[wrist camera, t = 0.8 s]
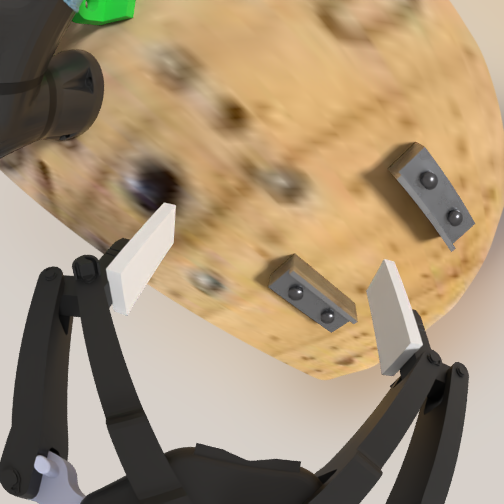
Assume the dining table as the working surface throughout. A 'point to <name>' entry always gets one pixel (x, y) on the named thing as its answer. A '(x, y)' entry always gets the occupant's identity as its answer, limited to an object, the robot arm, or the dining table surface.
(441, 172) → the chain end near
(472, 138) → the dining table surface
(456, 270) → the dining table surface
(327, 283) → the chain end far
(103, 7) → the mechanical part
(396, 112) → the dining table surface
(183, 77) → the dining table surface
